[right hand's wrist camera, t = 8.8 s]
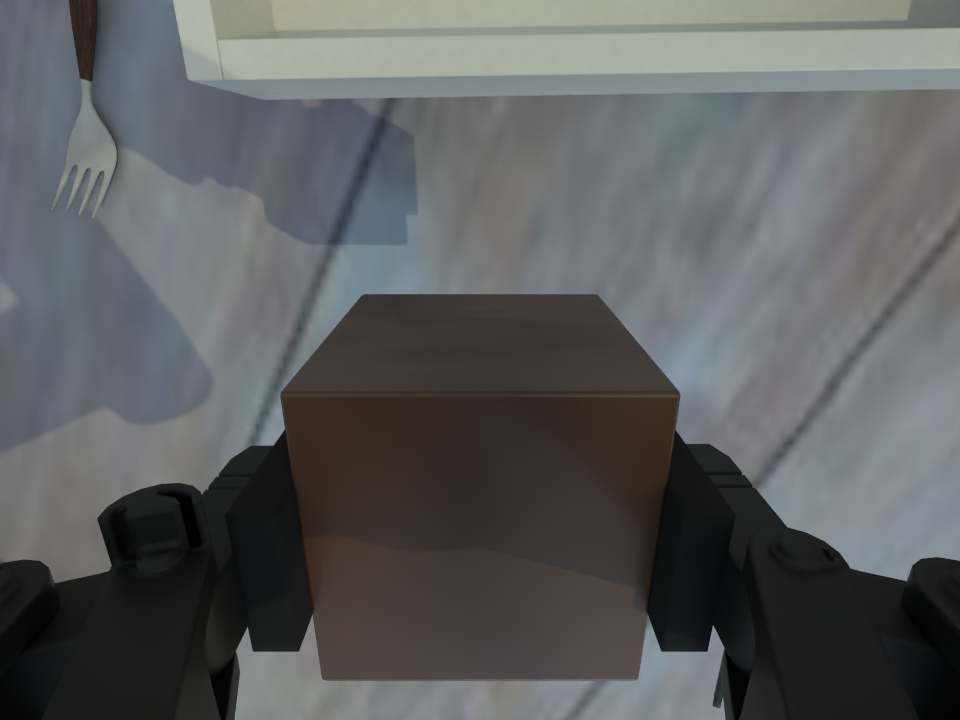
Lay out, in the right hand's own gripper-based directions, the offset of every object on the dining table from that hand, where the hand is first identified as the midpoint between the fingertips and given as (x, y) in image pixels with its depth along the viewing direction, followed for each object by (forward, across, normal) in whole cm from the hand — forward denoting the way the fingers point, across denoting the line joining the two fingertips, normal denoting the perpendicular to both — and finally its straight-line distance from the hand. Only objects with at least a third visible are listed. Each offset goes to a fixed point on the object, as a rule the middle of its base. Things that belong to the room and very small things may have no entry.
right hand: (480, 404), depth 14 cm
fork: (+19, -20, +11) cm, 30 cm away
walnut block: (0, 0, 0) cm, 0 cm away
